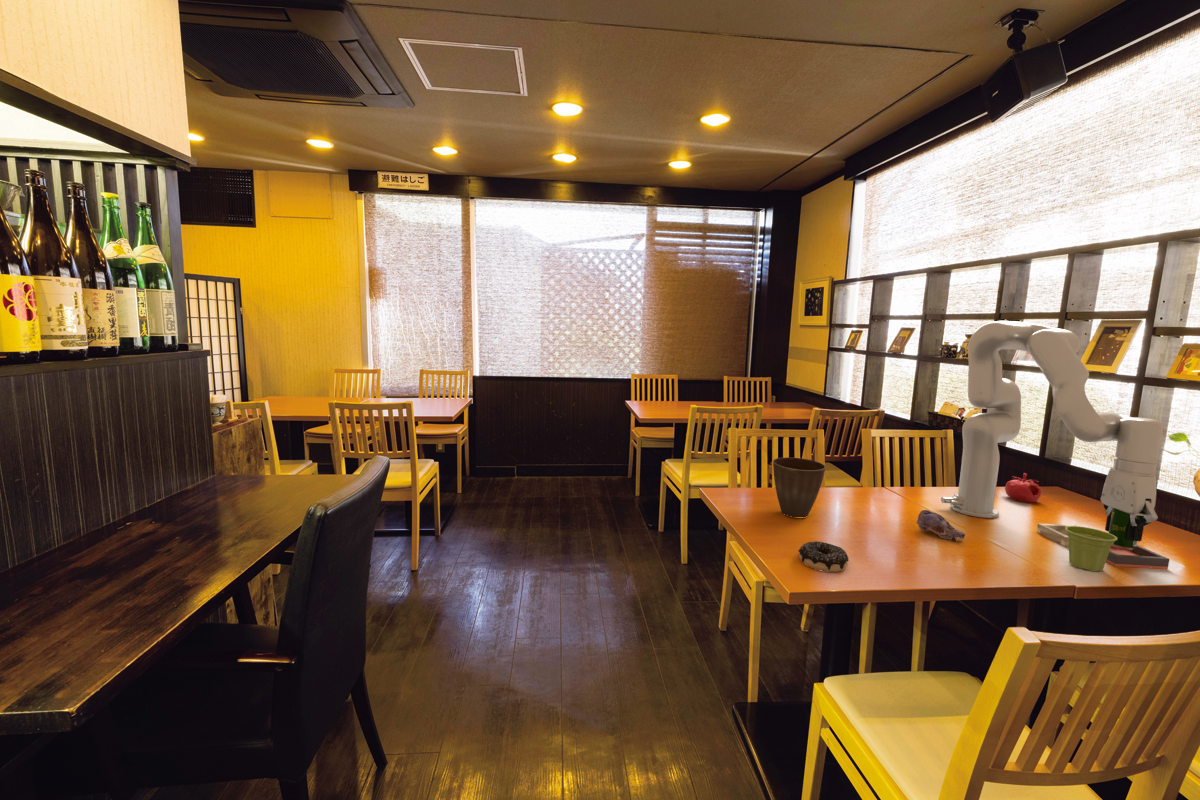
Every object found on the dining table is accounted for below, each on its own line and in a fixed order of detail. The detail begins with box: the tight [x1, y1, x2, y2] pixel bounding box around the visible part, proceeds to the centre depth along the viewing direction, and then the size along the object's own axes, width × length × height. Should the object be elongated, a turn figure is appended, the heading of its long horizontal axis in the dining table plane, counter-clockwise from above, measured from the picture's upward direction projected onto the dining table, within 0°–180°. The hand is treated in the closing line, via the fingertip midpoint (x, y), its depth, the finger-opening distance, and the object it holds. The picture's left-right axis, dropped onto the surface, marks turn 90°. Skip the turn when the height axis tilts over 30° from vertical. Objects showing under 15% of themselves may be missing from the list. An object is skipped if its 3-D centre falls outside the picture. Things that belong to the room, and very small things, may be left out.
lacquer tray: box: [1105, 544, 1170, 570], centre depth 137 cm, size 12×12×3 cm
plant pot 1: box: [772, 457, 827, 518], centre depth 161 cm, size 15×15×16 cm
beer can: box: [1108, 508, 1140, 550], centre depth 136 cm, size 5×5×12 cm
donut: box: [798, 540, 850, 573], centre depth 128 cm, size 11×12×4 cm
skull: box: [915, 509, 966, 542], centre depth 148 cm, size 12×8×6 cm, turn 23°
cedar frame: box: [1036, 523, 1077, 547], centre depth 148 cm, size 10×10×2 cm
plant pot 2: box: [1065, 525, 1117, 572], centre depth 130 cm, size 9×9×9 cm
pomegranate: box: [1004, 472, 1043, 504], centre depth 183 cm, size 10×10×9 cm
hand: (1122, 535), depth 136 cm, fingers closed on beer can, 5 cm apart
